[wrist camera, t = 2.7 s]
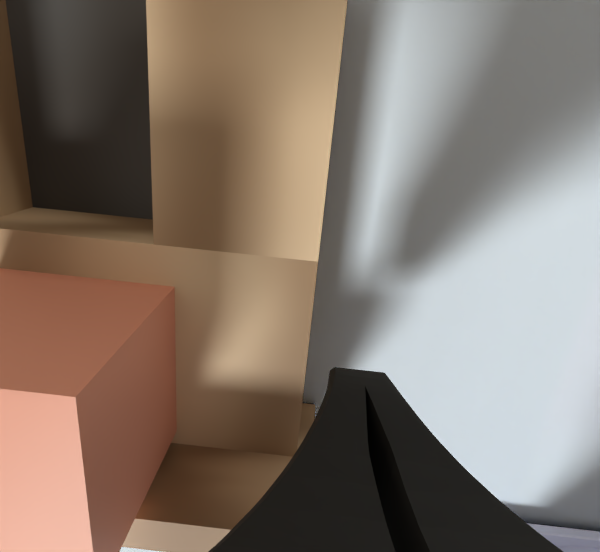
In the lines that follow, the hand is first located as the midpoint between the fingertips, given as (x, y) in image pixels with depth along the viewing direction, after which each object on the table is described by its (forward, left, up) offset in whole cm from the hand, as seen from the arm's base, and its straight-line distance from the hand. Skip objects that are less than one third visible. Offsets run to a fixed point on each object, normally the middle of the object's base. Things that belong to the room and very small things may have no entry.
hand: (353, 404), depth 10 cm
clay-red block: (+7, 0, -1) cm, 7 cm away
